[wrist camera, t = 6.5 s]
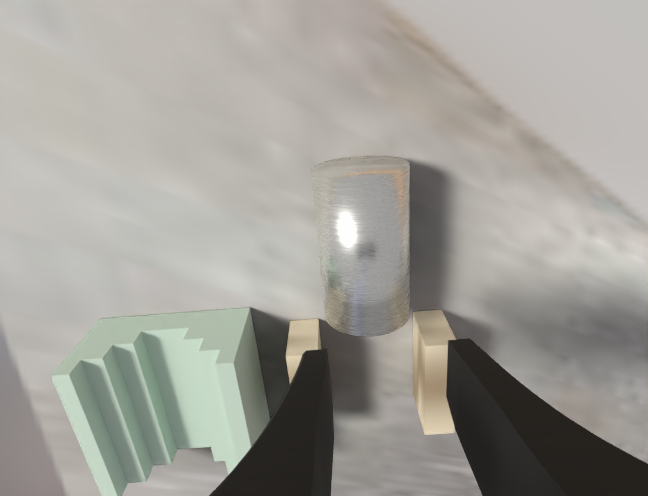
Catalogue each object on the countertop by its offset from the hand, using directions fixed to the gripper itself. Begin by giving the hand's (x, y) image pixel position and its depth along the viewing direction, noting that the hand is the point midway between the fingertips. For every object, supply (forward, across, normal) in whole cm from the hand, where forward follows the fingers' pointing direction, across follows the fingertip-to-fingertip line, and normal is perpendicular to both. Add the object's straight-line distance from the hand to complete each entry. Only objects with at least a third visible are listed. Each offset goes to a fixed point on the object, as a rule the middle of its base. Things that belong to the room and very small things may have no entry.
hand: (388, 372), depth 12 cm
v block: (+9, +10, +7) cm, 15 cm away
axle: (+10, 0, -1) cm, 10 cm away
